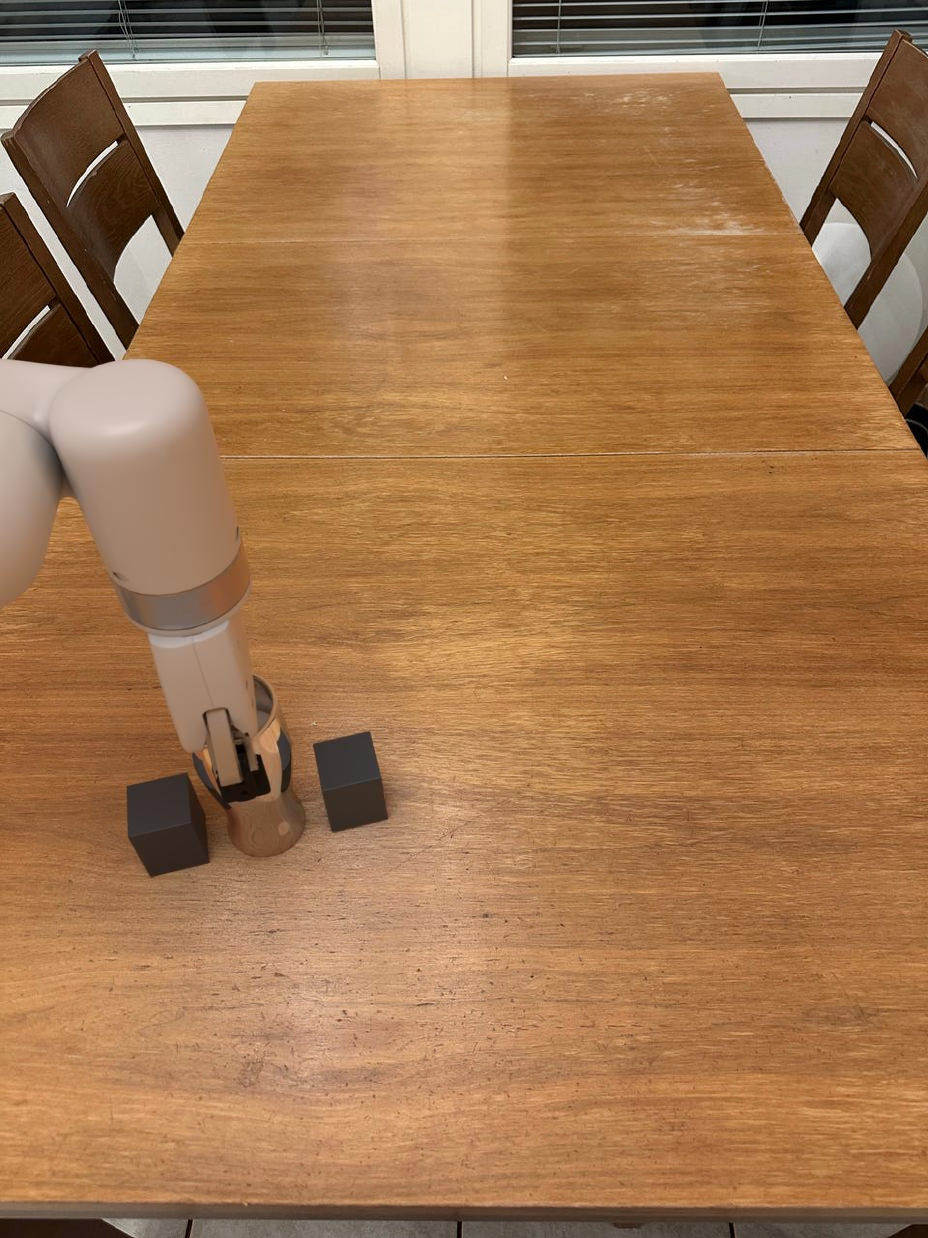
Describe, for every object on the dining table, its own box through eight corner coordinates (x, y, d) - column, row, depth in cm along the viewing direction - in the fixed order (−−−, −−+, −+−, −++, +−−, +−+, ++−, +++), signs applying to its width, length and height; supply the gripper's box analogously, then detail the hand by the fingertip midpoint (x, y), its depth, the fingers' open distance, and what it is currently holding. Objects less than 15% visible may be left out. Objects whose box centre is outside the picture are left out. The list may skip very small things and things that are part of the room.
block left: (149, 877, 72) (127, 837, 67) (147, 827, 75) (126, 785, 70) (209, 863, 72) (191, 822, 68) (205, 813, 75) (187, 771, 71)
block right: (331, 833, 74) (321, 791, 70) (322, 786, 77) (312, 743, 73) (388, 819, 75) (381, 777, 70) (376, 773, 78) (370, 730, 73)
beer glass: (285, 875, 72) (247, 763, 61) (206, 846, 73) (155, 732, 62) (326, 800, 76) (298, 683, 65) (250, 775, 78) (210, 657, 67)
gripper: (112, 490, 59) (181, 670, 72) (117, 702, 48) (197, 871, 61) (232, 468, 61) (279, 650, 74) (265, 670, 49) (313, 842, 62)
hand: (241, 749), depth 67 cm, fingers closed on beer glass, 7 cm apart
